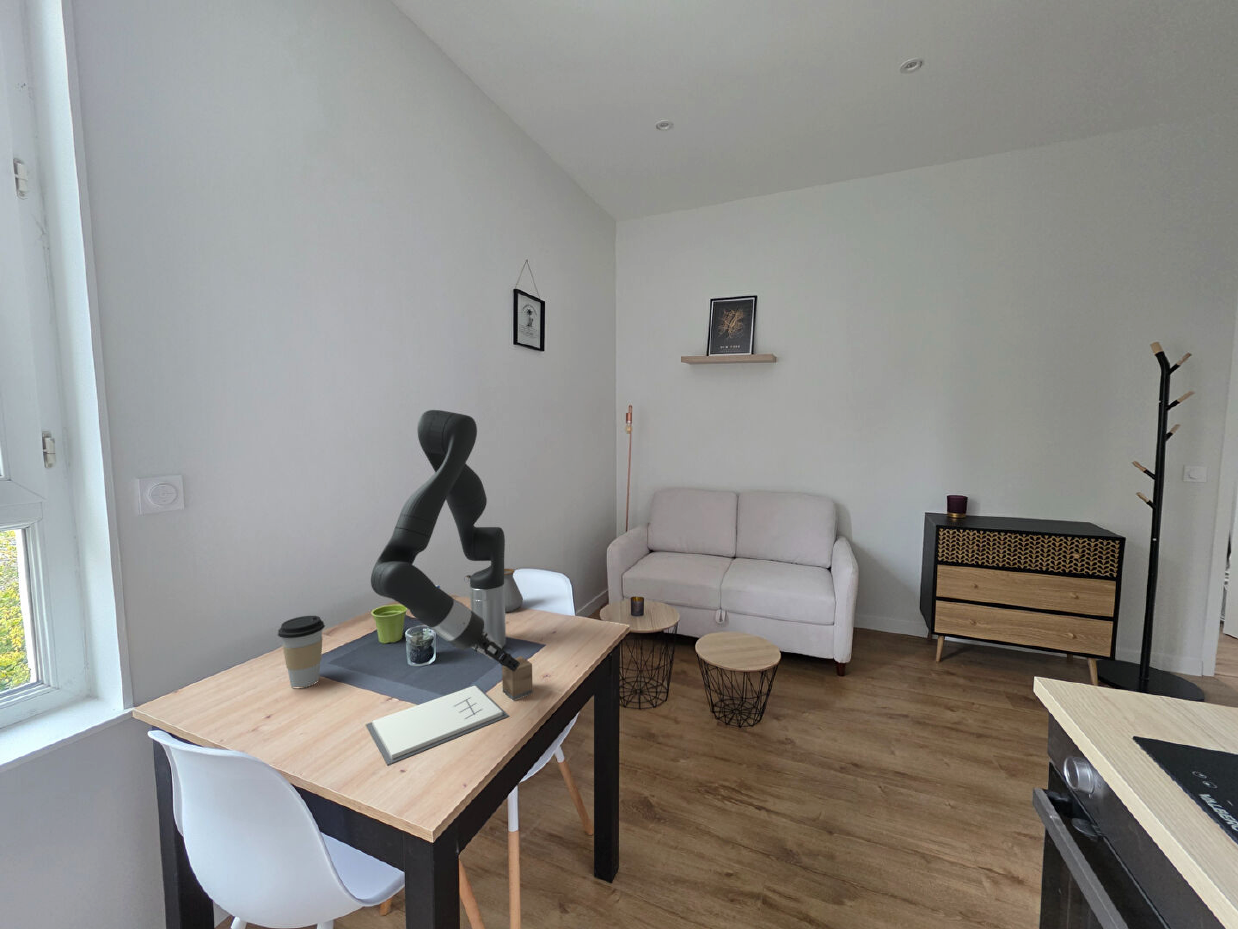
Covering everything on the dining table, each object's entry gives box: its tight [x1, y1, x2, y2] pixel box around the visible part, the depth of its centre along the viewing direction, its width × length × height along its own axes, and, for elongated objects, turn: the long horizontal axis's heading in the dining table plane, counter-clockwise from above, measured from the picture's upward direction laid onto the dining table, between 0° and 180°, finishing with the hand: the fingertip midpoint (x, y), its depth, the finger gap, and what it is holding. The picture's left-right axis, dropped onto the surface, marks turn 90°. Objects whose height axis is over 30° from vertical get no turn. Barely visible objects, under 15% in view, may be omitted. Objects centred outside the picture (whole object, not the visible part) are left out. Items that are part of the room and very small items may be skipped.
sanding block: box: [501, 655, 534, 701], centre depth 115 cm, size 5×5×7 cm
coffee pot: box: [463, 568, 524, 613], centre depth 165 cm, size 21×12×15 cm, turn 143°
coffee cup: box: [277, 615, 325, 688], centre depth 120 cm, size 9×9×15 cm
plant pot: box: [371, 604, 409, 644], centre depth 145 cm, size 9×9×9 cm
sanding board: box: [365, 685, 510, 766], centre depth 104 cm, size 16×24×1 cm, turn 129°
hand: (507, 660), depth 113 cm, fingers open, 8 cm apart
